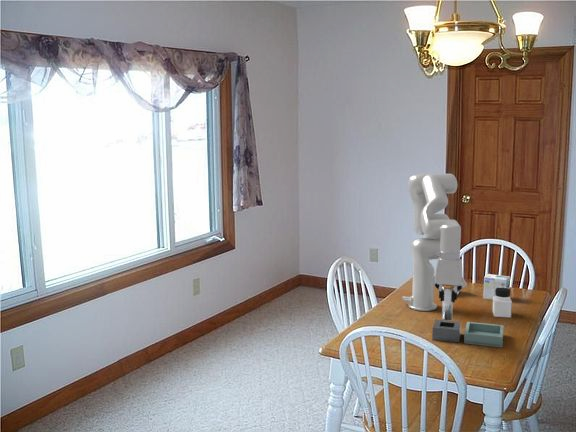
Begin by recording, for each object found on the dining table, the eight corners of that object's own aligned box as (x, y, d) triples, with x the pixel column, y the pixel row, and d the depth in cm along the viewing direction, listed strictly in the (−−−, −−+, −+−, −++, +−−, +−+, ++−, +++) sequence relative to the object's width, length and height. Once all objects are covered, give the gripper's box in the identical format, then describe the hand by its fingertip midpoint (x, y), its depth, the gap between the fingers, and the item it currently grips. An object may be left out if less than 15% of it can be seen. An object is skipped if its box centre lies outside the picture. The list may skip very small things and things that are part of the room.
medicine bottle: (511, 317, 281) (512, 290, 279) (493, 316, 282) (495, 289, 280) (509, 312, 288) (510, 286, 286) (492, 311, 289) (493, 285, 287)
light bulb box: (509, 298, 308) (510, 276, 306) (505, 302, 303) (506, 279, 301) (486, 295, 314) (487, 273, 312) (482, 298, 308) (483, 276, 307)
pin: (440, 319, 257) (441, 285, 254) (441, 315, 261) (443, 281, 258) (452, 320, 255) (454, 286, 253) (453, 317, 259) (455, 282, 257)
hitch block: (432, 339, 256) (432, 327, 255) (435, 331, 265) (435, 319, 264) (458, 342, 253) (459, 330, 252) (460, 333, 262) (461, 321, 261)
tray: (464, 343, 252) (464, 333, 251) (466, 331, 265) (467, 321, 264) (502, 347, 247) (502, 337, 247) (503, 334, 261) (503, 325, 260)
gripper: (426, 256, 252) (424, 301, 256) (471, 259, 247) (469, 306, 251) (429, 251, 259) (427, 296, 263) (472, 254, 254) (470, 300, 258)
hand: (447, 300), depth 257 cm, fingers closed on pin, 4 cm apart
